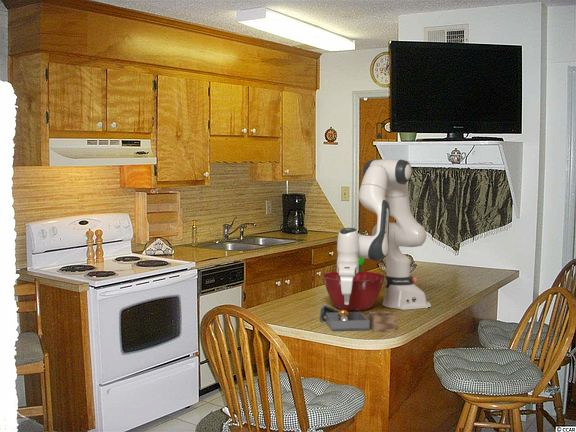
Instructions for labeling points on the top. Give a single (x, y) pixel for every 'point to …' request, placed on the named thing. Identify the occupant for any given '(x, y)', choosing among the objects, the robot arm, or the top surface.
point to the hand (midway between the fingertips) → (347, 301)
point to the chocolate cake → (325, 310)
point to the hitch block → (382, 321)
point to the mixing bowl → (355, 290)
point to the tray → (348, 322)
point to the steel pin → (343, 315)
